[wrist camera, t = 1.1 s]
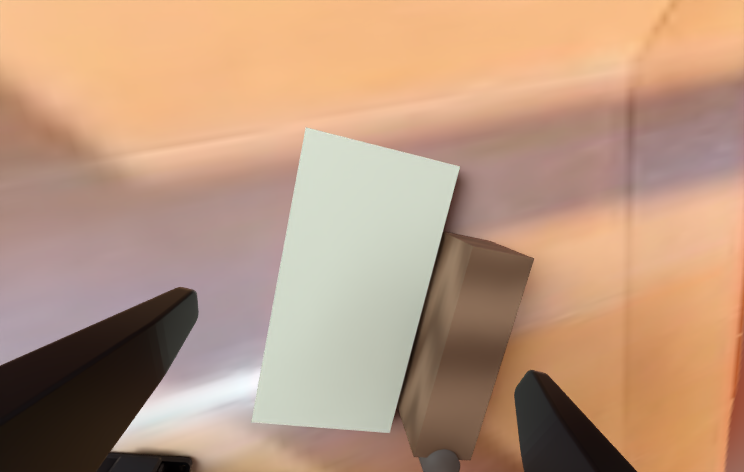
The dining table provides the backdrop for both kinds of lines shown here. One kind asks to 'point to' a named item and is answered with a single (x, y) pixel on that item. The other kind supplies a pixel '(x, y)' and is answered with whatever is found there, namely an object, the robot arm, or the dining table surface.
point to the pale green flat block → (351, 283)
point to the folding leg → (459, 347)
